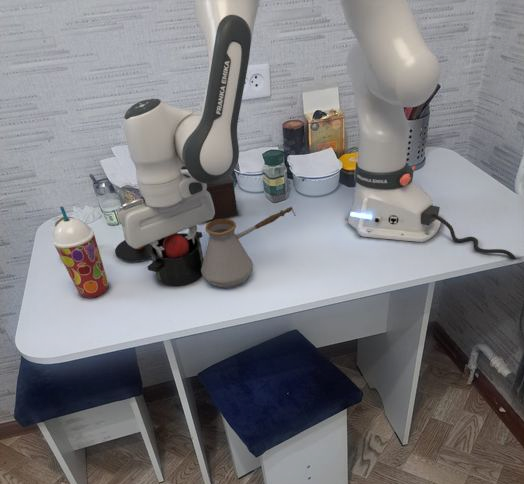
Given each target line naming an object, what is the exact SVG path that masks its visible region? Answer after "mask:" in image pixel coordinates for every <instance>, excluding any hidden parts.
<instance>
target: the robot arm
mask: <svg viewBox="0 0 524 484" xmlns="http://www.w3.org/2000/svg"><path fill="white" fill-rule="evenodd" d="M339 1H340V5H341V8H342V13H343V16H344V18H345V21H346V25H347V27H348V28H349V30H350V31H351V32H352V33H353V35H354V36H355V38H356V41H355V42H354V43H353V44H352V46H351V47H350V49H349V51H348V52H347V53H348V54H347V57H346V63H345V67H346V73H347V75H348V78H349V80H350V83H351V86H352V91H353V96H354V103H355V111H356V118H357V125H358V141H357V143H358V146H357V162H356V163H355V167H354V168H355V169H354V175H353V177H354V178H353V179H354V187H355V188H354V194H353V200H352V203H351V208H350V211H349V214H348V216H347V222H348V224H349V225H350V226H351V227H352V228H353V229H355V230H356V231H357V234H358V236H360V237H364V238H373V239H374V238H375V239H385V240H395V241H407V242H416V243H424V242H426V241H428V240H429V239H432V238H433V237H434V236H435V235H436V234H437V233H438V231H439V229H440V228H441V224H443V225H444V226H445V227H446V228H447V229H448V231H449V233H450V237H451V239H452V240H453V241H454V242H456V243H465V242H468V241H472V242H473V249H474V250H475V251H477V252H479V253H483V254H504V255H507V256H508V257H509V258H510V259H511V260H513V261H516V260H517V257H516V256H515V254H514V253H512V252H511V251H509V250H507V249H501V248H489V249H488V248H482V247H480V246H479V240H478V238H477V237H476V236H475V237H474V236H467V237H464V238H463V237H462V238H458V237H457V236H456V233H455V230H454V228H453V226H452V225H451V224H450V223H449V222H448V221H447V220H446V219H444V218H443V217H441V215H440V214H439V213H440V209H441V208H440V206H437V205H434V203H433V199H432V196H431V195H430V194H429V193H428V192H427V191H425V190H424V189H423V188H422V187H421V186H419V184H418V183H416V181H415V180H413V179H414V173H415V170H416V165H413V166H412V167H411V166H410V165H409V164H408V161H407V157H408V149H409V141H410V133H411V130H410V124H409V121H408V119H407V116H406V113H405V109H404V108H415V107H419V106H421V105H422V104H424V103H426V102H427V101H428V100H429V99H430V98H431V97H432V95H433V94H434V92H435V91H436V88H437V86H438V84H439V81H440V75H441V67H440V63H439V61H438V59H437V57H436V56H435V54H434V53H433V52H432V51H431V49H430V48H429V46H428V45H427V43H426V41H425V39H424V37H423V35H422V33H421V30H420V28H419V25H418V23H417V20H416V18H415V16H414V14H413V11H412V9H411V6H410V4H409V2H408V1H409V0H339ZM260 2H261V0H193V14H194V17H195V20H196V22H197V25H198V26H199V29H200V31H201V33H202V36H203V39H204V42H205V44H206V49H207V55H208V70H207V78H206V84H205V89H204V97H203V102H202V110H198V109H187V108H180V107H177V106H173V105H171V104H168V103H166V102H164V101H163V100H161V99H160V98H149V99H148V98H147V99H143V100H141V101H138V102H136V103H134V104H133V105H131V106H130V107H129V108H127V110H126V112H125V114H124V116H123V129H124V135H125V140H126V146H127V149H128V153H129V156H130V160H131V161H132V163H133V165H134V167H135V172H136V173H135V175H136V176H135V177H136V182H137V185H138V190H139V193H140V197H138V198H135V199H132V200H131V201H126V202H124V203H122V204H121V206H120V207H119V208H118V209H117V211H116V216H117V219H118V222H119V224H120V225H121V228H122V233H123V237H124V240H125V241H126V242H127V243H128V245H130V246H131V247H133V248H135V249H136V248H139V247H142V246H144V245H147V244H151V245H152V246H153V247H154V248H155V249H156V252H157V255H158V256H159V257H164V256H166V253H165V252H166V251H165V249H164V248H163V247H162V246H160V247H158V246H156V245H158V240H160V239H162V238H165V237H167V236H170V235H172V234H175V233H180V232H182V231H185V230H188V233H187V234H188V236H186V237H185V238H186V239H187V241H188V243H189V246H191V245H193V244H195V240H194V237H195V234H196V231H197V232H198V227H197V226H198V225H201V224H204V223H203V222H206V221H208V220H211V219H213V217H214V215H215V210H214V205H213V201H212V198H211V195H210V193H209V192H208V191H206V188H207V184H215V183H219V182H221V181H223V180H225V179H226V178H227V177H230V176H231V175H232V174H233V172H234V171H235V170H236V168H237V165H238V163H239V157H240V147H239V141H238V138H239V137H238V124H239V118H240V117H239V116H240V111H241V106H242V101H243V95H244V90H245V85H246V80H247V75H248V68H249V62H250V61H249V60H250V55H251V47H252V41H253V40H252V39H253V35H254V34H253V33H254V28H255V23H256V19H257V14H258V11H259V7H260V6H259V5H260ZM184 166H186V168H187V169H186V171H187V172H184V171H182V170H181V168H182V167H184ZM206 223H207V222H206Z"/></svg>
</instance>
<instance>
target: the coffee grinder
mask: <svg viewBox="0 0 524 484" xmlns="http://www.w3.org/2000/svg"><path fill="white" fill-rule="evenodd" d="M184 170H187V168H186V166H184V167H182V168H181V171H184ZM206 191H208V192H209V193H210V195H211V198H212V201H213V205H214V210H215V215H214V217H213V219H211V220H208V221H206V222H203V223H202V224H206V223H209V222H211V221H214V220H217V219H230V218H232V217H236V216H238V215H239V213H238V206H237V197H236V192H235V184H234V182H233V179H232V178H231V177H230V176H229V177H227V178H226V179H225V180H223V181H221V182H219V183H215V184H207V188H206Z"/></svg>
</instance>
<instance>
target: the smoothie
mask: <svg viewBox="0 0 524 484" xmlns="http://www.w3.org/2000/svg"><path fill="white" fill-rule="evenodd" d="M59 209H60V212H61V214H62V217H64V220H62V221H61V222H59V223H58V224H57V226H55V227H54V230H53V233H52V234H53V235H52V236H53V237H52V241H51V242H52V244H53V246H54V247H55V249H56V251H57V254H58V255H59V258H60V259H61V261H62V263H63V265H64V267H65V269H66V271H67V273H68V275H69V277H70V279H71V282H72V283H73V285H74V287H75V289H76V291H77V292H78V293H79V294H81V295H82V297H84V298H89V299H91V298H97V297H99V296H101V295H103V294H104V293H105V292H106V291H107V290H108V285H109V280H108V277H107V274H106V271H105V270H106V269H105V267H104V264H103V260H102V256H101V253H100V249H99V245H98V243H97V239H96V235H95V231H94V229H93V228H92V227H90V226H89V225H88V224H87V223H86V222H85V221H83V220H81V219H78V218H75V217H73V218H67V217H68V215H67V213H66V210H65V207H64V206H60V207H59Z"/></svg>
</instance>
